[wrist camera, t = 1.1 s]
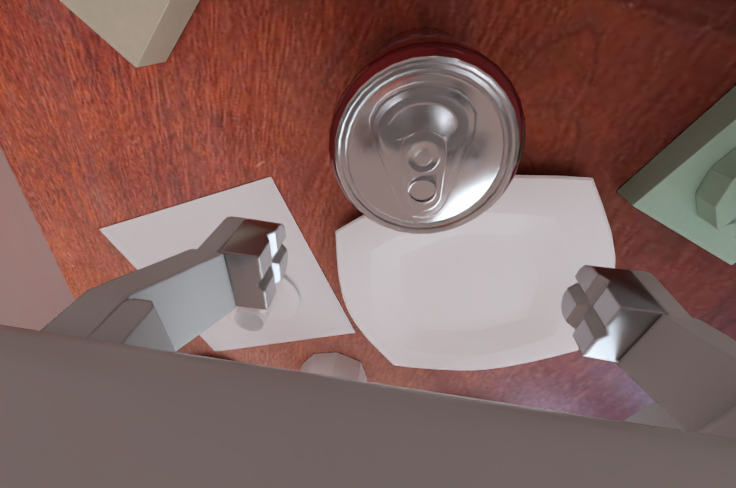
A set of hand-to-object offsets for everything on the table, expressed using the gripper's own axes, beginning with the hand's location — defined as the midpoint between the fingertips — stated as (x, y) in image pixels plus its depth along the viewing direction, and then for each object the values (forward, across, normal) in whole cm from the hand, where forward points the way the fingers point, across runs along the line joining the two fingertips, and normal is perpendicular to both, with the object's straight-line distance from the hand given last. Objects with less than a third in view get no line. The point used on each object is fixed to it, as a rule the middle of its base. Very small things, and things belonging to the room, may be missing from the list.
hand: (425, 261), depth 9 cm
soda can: (+16, 0, -1) cm, 16 cm away
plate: (+16, -7, +15) cm, 23 cm away
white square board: (+16, +16, +19) cm, 30 cm away
